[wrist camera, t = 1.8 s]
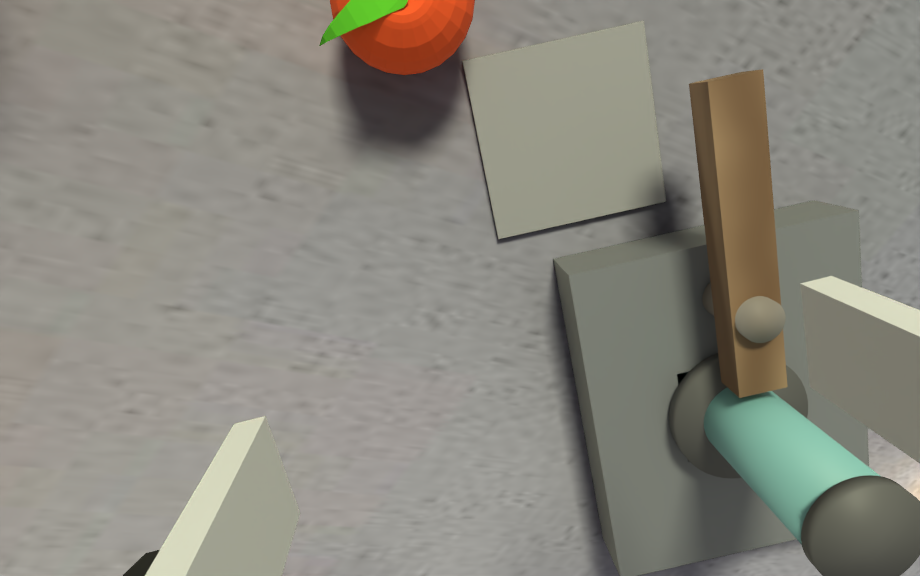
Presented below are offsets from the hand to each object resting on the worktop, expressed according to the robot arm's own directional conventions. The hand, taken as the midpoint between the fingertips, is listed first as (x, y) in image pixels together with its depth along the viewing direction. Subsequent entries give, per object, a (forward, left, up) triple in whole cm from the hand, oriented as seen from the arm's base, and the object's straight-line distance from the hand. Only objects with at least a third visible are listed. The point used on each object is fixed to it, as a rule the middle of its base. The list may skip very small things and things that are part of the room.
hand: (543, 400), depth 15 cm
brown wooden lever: (+13, -2, -18) cm, 22 cm away
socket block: (+13, -13, -23) cm, 29 cm away
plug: (+13, -13, -23) cm, 29 cm away
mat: (+7, +4, -23) cm, 24 cm away
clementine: (-1, +12, -23) cm, 26 cm away
